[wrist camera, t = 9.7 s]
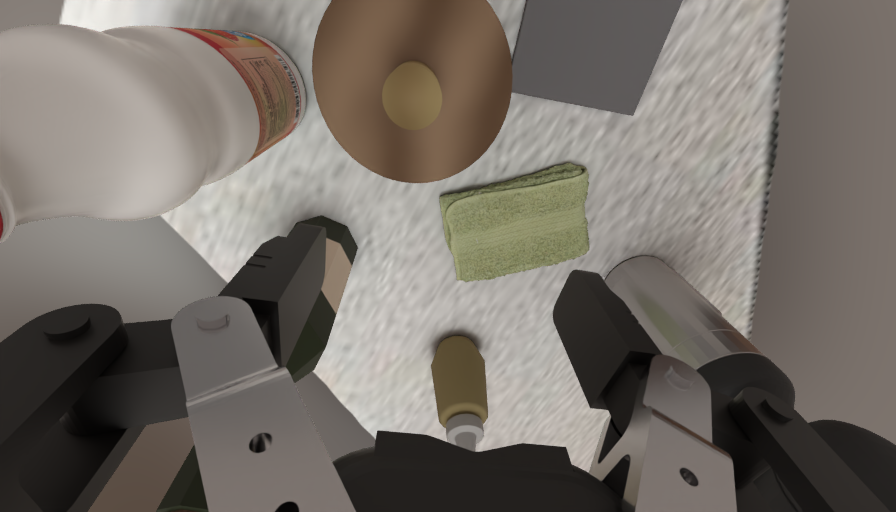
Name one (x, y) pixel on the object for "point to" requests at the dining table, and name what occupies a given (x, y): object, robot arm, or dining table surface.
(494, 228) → the washcloth
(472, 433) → the squeeze bottle
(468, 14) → the lid
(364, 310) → the dining table surface
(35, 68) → the fruit juice
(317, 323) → the wine bottle
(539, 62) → the mat
